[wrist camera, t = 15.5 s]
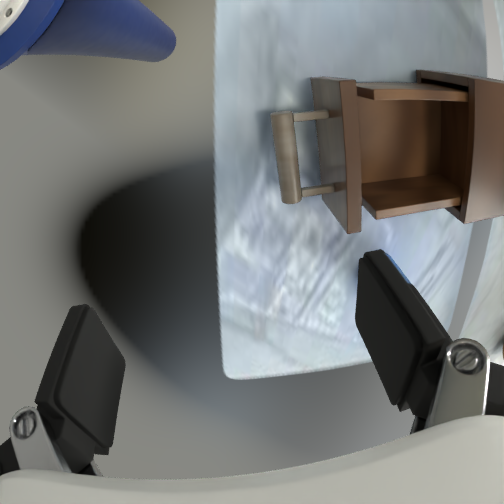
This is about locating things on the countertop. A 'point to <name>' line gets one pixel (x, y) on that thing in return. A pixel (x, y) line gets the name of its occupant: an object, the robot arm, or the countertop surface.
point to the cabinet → (479, 144)
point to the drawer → (379, 148)
